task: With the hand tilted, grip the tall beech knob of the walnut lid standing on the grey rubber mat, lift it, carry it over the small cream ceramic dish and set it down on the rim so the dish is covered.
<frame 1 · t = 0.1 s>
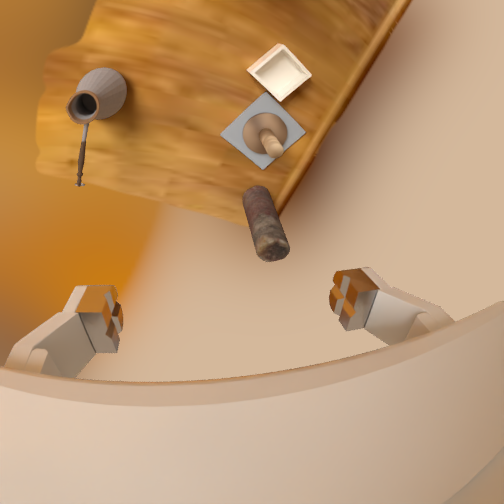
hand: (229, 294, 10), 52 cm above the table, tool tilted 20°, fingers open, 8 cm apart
lid: (264, 132, 57), point 1 cm above the table, touching mat
candle: (255, 196, 71), on the table
dish: (276, 70, 47), on the table
mat: (264, 131, 57), on the table
coffee pot: (102, 111, 45), on the table
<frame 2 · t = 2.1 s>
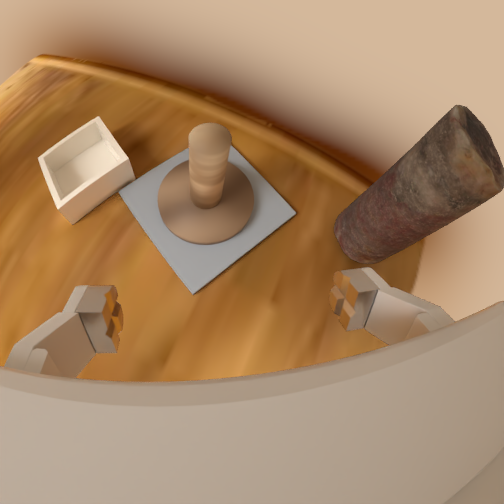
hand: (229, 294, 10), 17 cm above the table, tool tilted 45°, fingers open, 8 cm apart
lid: (205, 200, 28), point 1 cm above the table, touching mat
candle: (359, 238, 31), on the table
dish: (88, 176, 27), on the table
mat: (205, 202, 29), on the table
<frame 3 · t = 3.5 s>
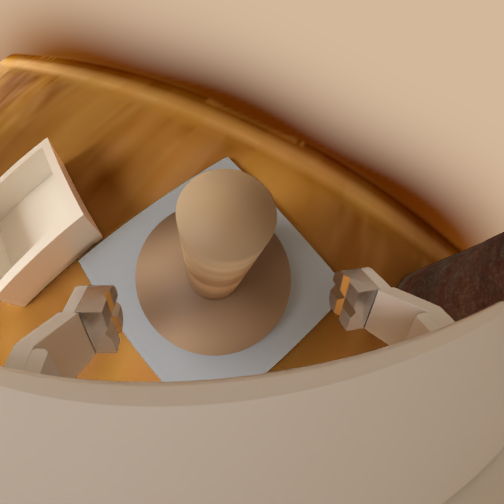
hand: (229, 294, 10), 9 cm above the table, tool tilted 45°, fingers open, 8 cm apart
lid: (213, 278, 18), point 1 cm above the table, touching mat
candle: (420, 310, 21), on the table
dish: (40, 230, 17), on the table
mat: (212, 280, 18), on the table
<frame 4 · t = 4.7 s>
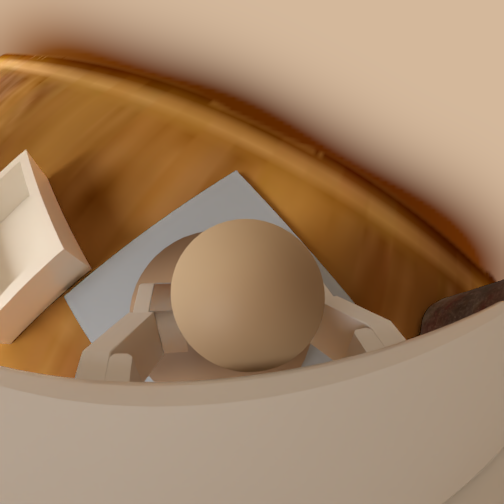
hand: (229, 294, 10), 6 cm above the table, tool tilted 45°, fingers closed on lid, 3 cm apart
lid: (221, 321, 15), point 1 cm above the table, touching gripper, mat
candle: (443, 340, 18), on the table
dish: (22, 256, 14), on the table
mat: (220, 321, 15), on the table
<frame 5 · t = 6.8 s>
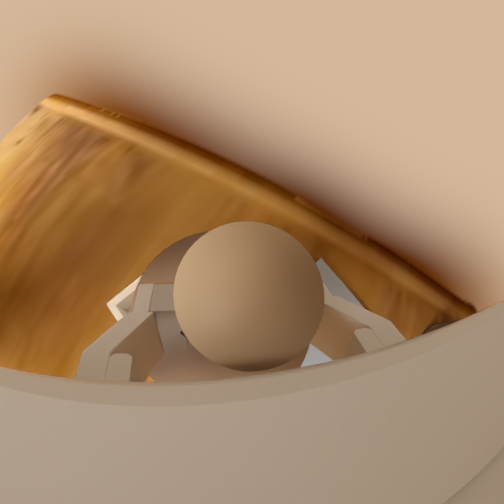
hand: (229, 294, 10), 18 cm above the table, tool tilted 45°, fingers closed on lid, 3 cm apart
lid: (221, 321, 15), point 12 cm above the table, touching gripper
dish: (177, 317, 26), on the table
mat: (317, 347, 27), on the table
when the fingers open (11 cm above the table, at t = 8.9 s): lid drops 1 cm, resting on dish.
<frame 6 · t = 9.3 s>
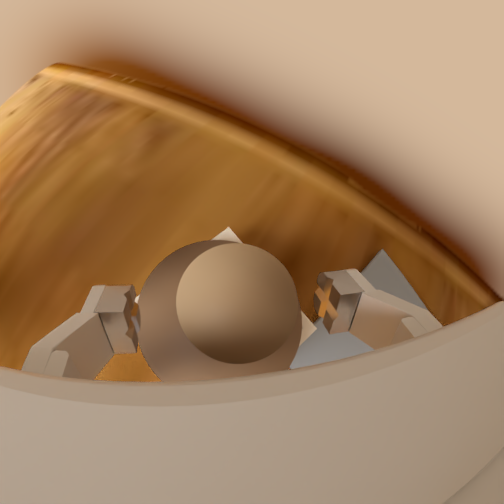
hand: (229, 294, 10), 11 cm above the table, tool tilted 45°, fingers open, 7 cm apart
lid: (218, 322, 16), point 4 cm above the table, touching dish
dish: (217, 325, 20), on the table
mat: (381, 353, 21), on the table
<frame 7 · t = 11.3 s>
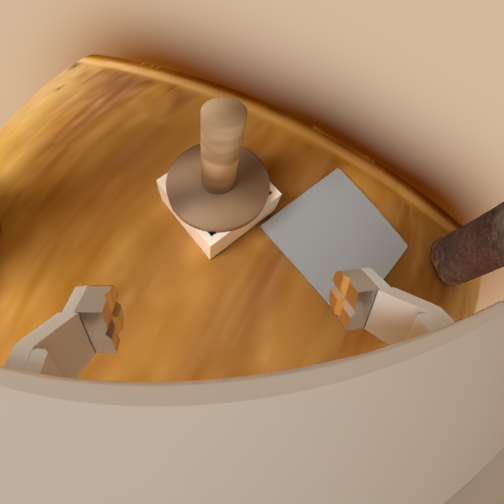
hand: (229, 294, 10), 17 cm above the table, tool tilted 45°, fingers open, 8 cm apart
lid: (217, 185, 26), point 4 cm above the table, touching dish
candle: (444, 263, 33), on the table
dish: (217, 204, 30), on the table
mat: (342, 238, 31), on the table
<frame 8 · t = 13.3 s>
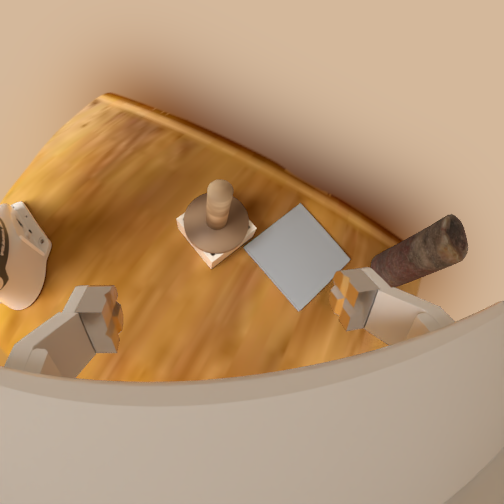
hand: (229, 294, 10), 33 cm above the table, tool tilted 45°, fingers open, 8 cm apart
lid: (216, 223, 42), point 4 cm above the table, touching dish
candle: (383, 271, 50), on the table
dish: (215, 232, 46), on the table
mat: (299, 254, 47), on the table
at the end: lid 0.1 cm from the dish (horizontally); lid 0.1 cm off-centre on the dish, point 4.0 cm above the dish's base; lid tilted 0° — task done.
